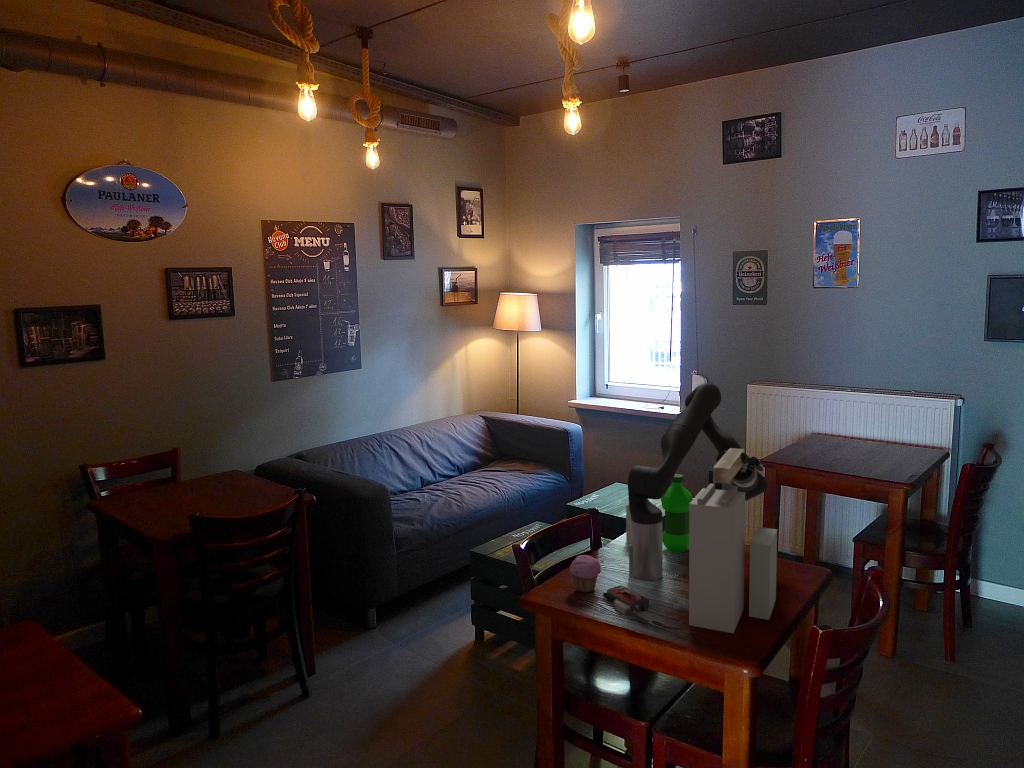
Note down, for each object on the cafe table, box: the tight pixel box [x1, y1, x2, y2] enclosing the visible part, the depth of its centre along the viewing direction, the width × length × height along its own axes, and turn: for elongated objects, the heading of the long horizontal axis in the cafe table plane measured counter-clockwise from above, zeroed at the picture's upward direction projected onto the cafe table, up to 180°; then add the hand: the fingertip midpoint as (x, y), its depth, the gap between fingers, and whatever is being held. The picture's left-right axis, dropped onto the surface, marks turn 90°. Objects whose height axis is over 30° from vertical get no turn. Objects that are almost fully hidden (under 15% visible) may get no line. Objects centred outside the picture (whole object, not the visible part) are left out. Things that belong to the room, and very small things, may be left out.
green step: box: [748, 526, 778, 621], centre depth 190 cm, size 5×13×20 cm, turn 153°
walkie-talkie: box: [602, 585, 650, 624], centre depth 194 cm, size 9×4×20 cm
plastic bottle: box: [660, 473, 694, 554], centre depth 234 cm, size 10×10×25 cm
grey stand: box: [688, 483, 746, 634], centre depth 185 cm, size 11×15×34 cm
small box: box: [625, 503, 657, 544], centre depth 243 cm, size 8×6×13 cm
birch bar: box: [712, 448, 745, 485], centre depth 193 cm, size 4×23×4 cm, turn 153°
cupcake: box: [569, 554, 602, 593], centre depth 206 cm, size 9×9×10 cm
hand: (733, 454), depth 198 cm, fingers closed on birch bar, 4 cm apart
